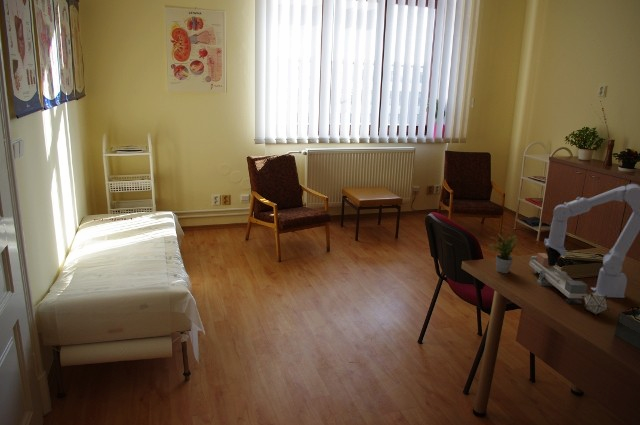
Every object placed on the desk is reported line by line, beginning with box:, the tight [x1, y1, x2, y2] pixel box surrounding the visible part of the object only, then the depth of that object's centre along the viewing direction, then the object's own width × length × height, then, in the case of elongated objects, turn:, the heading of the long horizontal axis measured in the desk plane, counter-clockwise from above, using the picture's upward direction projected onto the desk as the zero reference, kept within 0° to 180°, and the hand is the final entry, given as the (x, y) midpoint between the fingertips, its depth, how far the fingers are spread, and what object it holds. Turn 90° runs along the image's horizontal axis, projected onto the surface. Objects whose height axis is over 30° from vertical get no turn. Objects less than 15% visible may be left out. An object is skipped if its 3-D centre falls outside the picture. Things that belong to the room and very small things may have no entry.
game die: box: [582, 290, 611, 317], centre depth 178 cm, size 9×8×10 cm
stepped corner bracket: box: [533, 268, 583, 306], centre depth 199 cm, size 31×11×5 cm, turn 2°
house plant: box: [488, 233, 521, 274], centre depth 213 cm, size 14×14×16 cm
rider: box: [536, 252, 550, 269], centre depth 209 cm, size 6×3×5 cm, turn 3°
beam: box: [528, 255, 589, 299], centre depth 199 cm, size 33×8×5 cm, turn 2°
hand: (551, 265), depth 203 cm, fingers closed
